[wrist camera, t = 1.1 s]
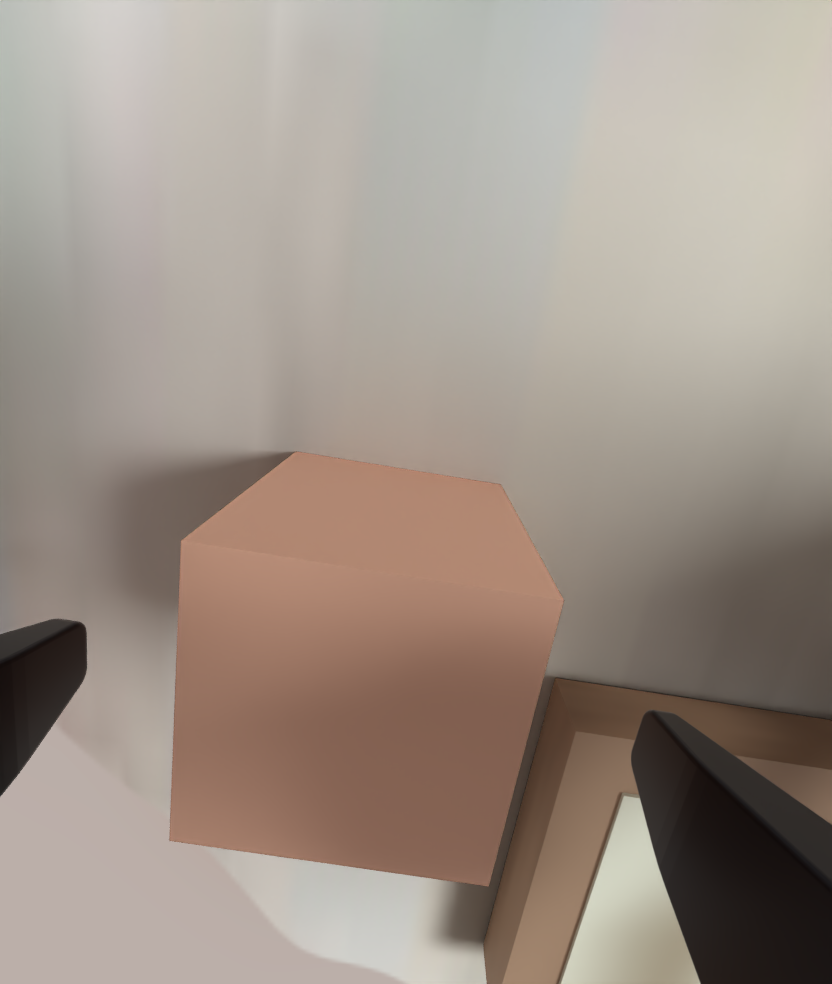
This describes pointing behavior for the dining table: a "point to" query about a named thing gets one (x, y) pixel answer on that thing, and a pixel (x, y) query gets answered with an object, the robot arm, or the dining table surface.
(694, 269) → the dining table surface
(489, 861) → the terracotta block
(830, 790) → the walnut plinth
